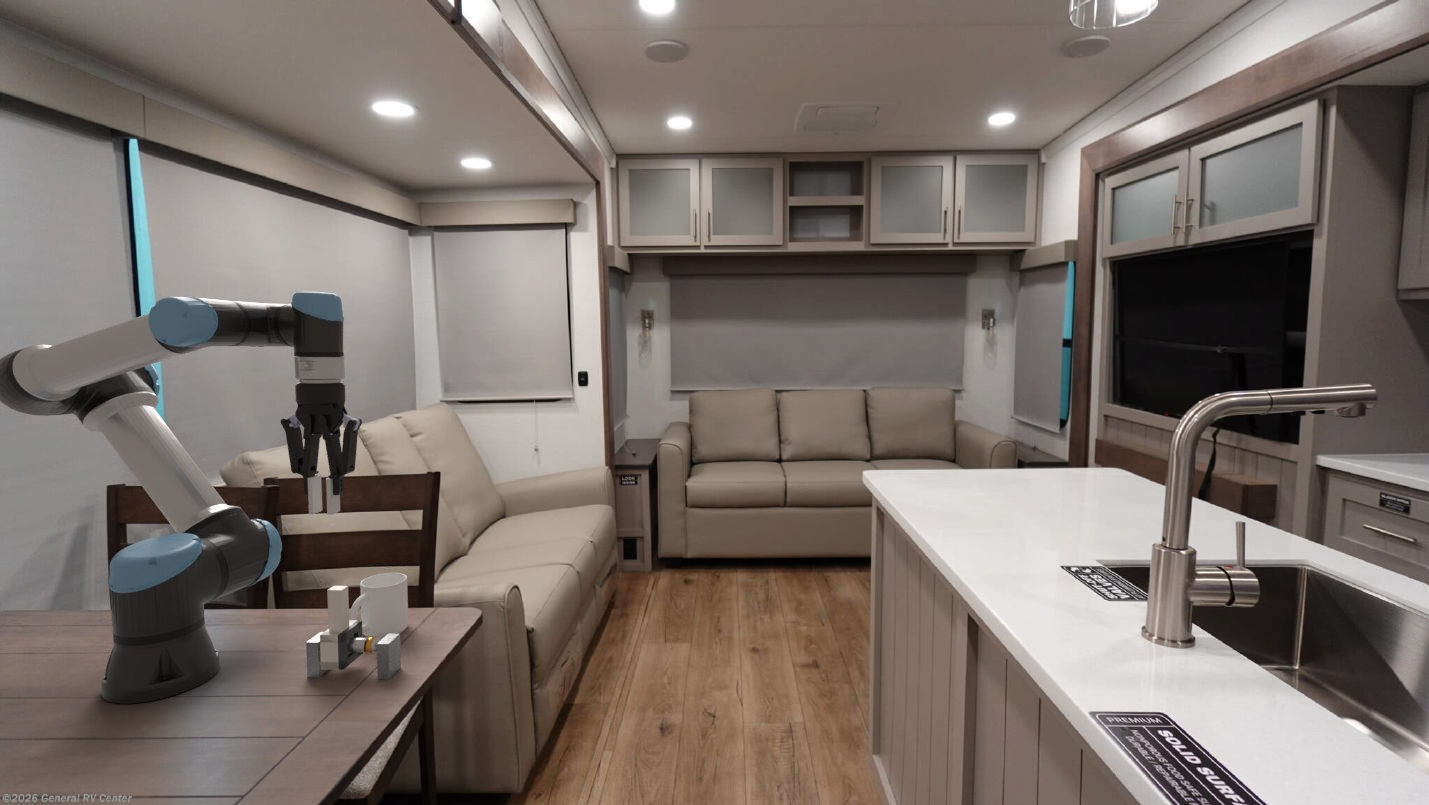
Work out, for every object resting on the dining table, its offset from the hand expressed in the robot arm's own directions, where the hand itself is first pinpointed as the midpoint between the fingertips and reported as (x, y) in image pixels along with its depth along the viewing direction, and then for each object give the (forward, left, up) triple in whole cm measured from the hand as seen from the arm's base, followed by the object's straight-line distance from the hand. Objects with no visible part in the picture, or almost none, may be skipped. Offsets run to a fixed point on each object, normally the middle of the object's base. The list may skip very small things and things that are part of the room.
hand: (324, 512), depth 117 cm
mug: (+4, +9, -27) cm, 29 cm away
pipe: (+8, -6, -27) cm, 28 cm away
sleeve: (+6, -6, -25) cm, 26 cm away
